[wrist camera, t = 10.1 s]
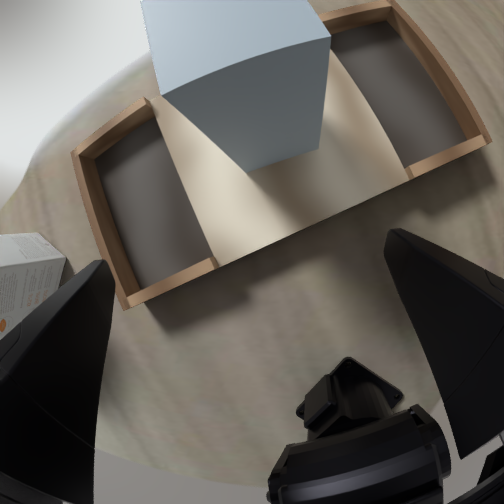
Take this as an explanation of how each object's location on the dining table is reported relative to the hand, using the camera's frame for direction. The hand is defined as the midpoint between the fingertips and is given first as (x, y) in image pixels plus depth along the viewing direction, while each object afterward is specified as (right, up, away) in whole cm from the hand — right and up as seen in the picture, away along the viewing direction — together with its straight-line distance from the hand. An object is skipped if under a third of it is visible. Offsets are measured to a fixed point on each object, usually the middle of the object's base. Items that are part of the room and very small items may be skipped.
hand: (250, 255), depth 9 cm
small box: (-22, -3, +17) cm, 28 cm away
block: (+1, +8, +10) cm, 13 cm away
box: (+2, +8, +12) cm, 14 cm away
